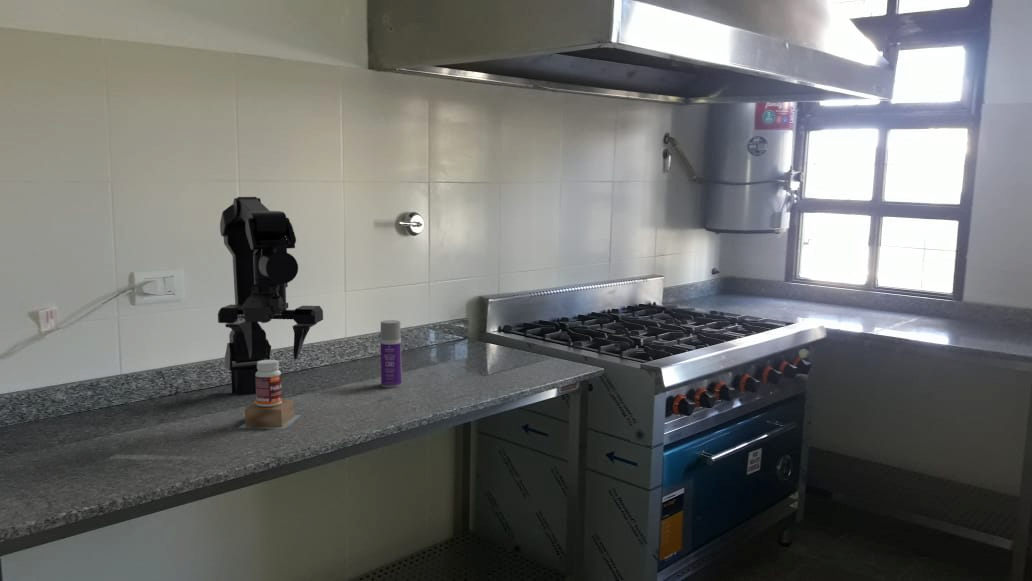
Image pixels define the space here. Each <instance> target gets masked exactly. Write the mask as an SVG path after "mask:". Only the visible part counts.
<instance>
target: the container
mask: <svg viewBox="0 0 1032 581" xmlns="http://www.w3.org/2000/svg"><path fill="white" fill-rule="evenodd" d="M401 334H402V333H401V320H395V319H387V320H381V321H380V380H381V381H380V384H381V387H383V388H387V389H389V388H390V389H391V388H393V387H394V388H400V387H401V386H402V335H401Z"/></svg>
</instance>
